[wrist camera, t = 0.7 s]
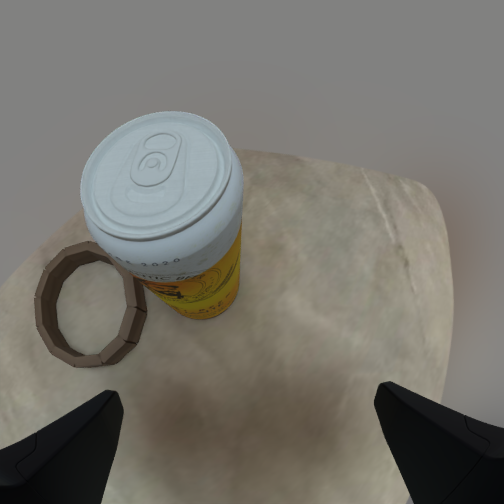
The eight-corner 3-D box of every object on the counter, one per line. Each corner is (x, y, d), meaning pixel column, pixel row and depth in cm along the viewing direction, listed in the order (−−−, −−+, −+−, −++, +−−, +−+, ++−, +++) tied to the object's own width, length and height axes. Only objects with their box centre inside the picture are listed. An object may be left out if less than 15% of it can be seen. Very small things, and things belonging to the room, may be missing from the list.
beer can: (159, 315, 21) (48, 243, 7) (170, 244, 23) (105, 109, 9) (235, 324, 21) (234, 260, 7) (242, 250, 24) (251, 106, 10)
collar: (126, 384, 19) (114, 387, 17) (39, 338, 19) (23, 335, 17) (161, 271, 23) (153, 261, 20) (72, 241, 23) (60, 230, 21)
